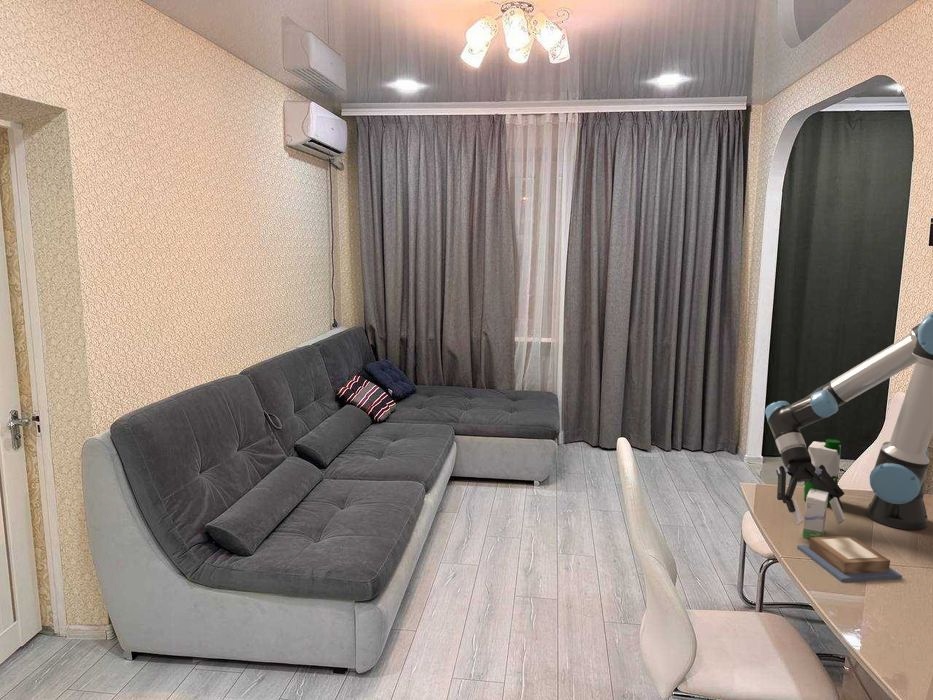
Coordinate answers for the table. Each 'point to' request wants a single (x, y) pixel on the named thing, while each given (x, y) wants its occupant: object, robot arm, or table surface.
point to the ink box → (815, 513)
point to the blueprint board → (847, 577)
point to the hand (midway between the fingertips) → (821, 522)
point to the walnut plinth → (849, 555)
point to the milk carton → (824, 461)
